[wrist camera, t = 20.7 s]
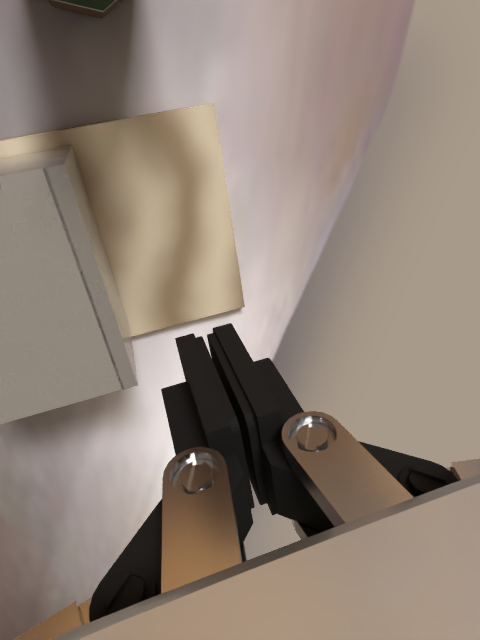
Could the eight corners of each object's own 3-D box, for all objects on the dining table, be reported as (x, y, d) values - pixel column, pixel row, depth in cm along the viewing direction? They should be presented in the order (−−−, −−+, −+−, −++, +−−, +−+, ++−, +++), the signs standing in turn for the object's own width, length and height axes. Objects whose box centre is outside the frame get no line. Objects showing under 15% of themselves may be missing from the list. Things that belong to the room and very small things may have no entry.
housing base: (-12, 368, 39) (-18, 385, 37) (-125, 162, 30) (-142, 168, 28) (241, 302, 43) (249, 313, 41) (211, 103, 34) (219, 104, 32)
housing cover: (4, 361, 38) (-18, 429, 30) (-92, 174, 29) (-155, 205, 22) (130, 328, 40) (137, 385, 32) (72, 144, 31) (64, 164, 24)
